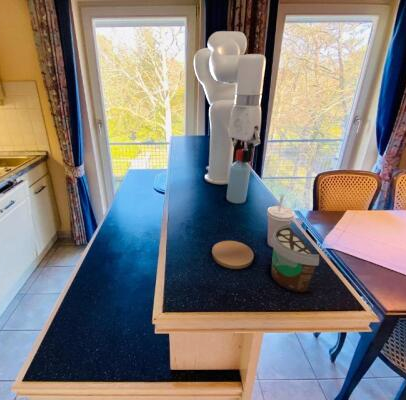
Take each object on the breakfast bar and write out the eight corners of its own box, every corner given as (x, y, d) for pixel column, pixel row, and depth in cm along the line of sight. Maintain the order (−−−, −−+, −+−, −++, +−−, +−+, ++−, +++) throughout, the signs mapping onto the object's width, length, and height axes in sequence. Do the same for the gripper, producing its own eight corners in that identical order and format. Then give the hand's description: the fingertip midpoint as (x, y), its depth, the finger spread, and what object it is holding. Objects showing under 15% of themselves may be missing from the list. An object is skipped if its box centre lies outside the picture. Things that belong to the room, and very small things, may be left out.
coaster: (204, 250, 67) (204, 246, 67) (236, 240, 71) (236, 236, 71) (227, 274, 59) (228, 270, 59) (262, 261, 63) (262, 257, 62)
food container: (257, 259, 63) (263, 223, 59) (282, 258, 64) (289, 222, 60) (279, 299, 52) (288, 258, 48) (309, 297, 53) (321, 256, 48)
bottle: (222, 196, 96) (227, 151, 88) (237, 193, 98) (243, 148, 90) (234, 204, 90) (240, 157, 82) (249, 200, 93) (257, 154, 85)
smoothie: (257, 240, 71) (264, 192, 65) (276, 235, 73) (284, 188, 67) (273, 253, 66) (282, 203, 60) (293, 247, 68) (304, 198, 62)
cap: (246, 157, 89) (247, 149, 88) (248, 161, 85) (249, 152, 84) (234, 157, 89) (235, 148, 88) (236, 161, 86) (237, 152, 84)
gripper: (221, 99, 85) (217, 155, 93) (256, 104, 71) (249, 168, 79) (240, 98, 88) (235, 152, 96) (277, 102, 74) (268, 165, 82)
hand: (241, 159), depth 87 cm, fingers closed on cap, 3 cm apart
